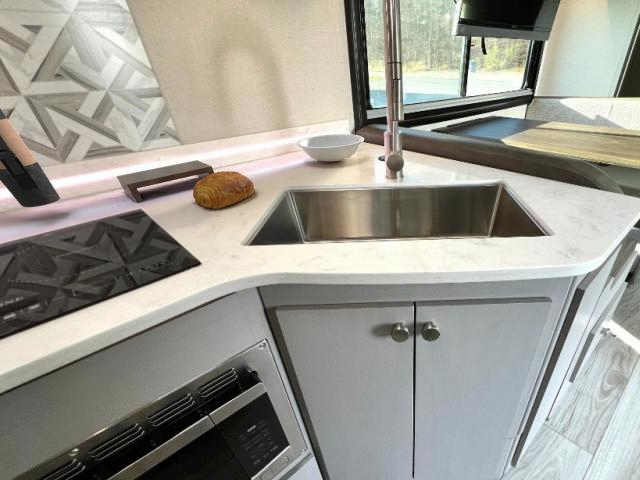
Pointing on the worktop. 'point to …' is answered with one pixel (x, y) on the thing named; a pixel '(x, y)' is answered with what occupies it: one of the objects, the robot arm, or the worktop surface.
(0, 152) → the robot arm
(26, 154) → the travel mug
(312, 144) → the soup bowl
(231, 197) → the croissant
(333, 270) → the worktop surface
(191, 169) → the shelf
